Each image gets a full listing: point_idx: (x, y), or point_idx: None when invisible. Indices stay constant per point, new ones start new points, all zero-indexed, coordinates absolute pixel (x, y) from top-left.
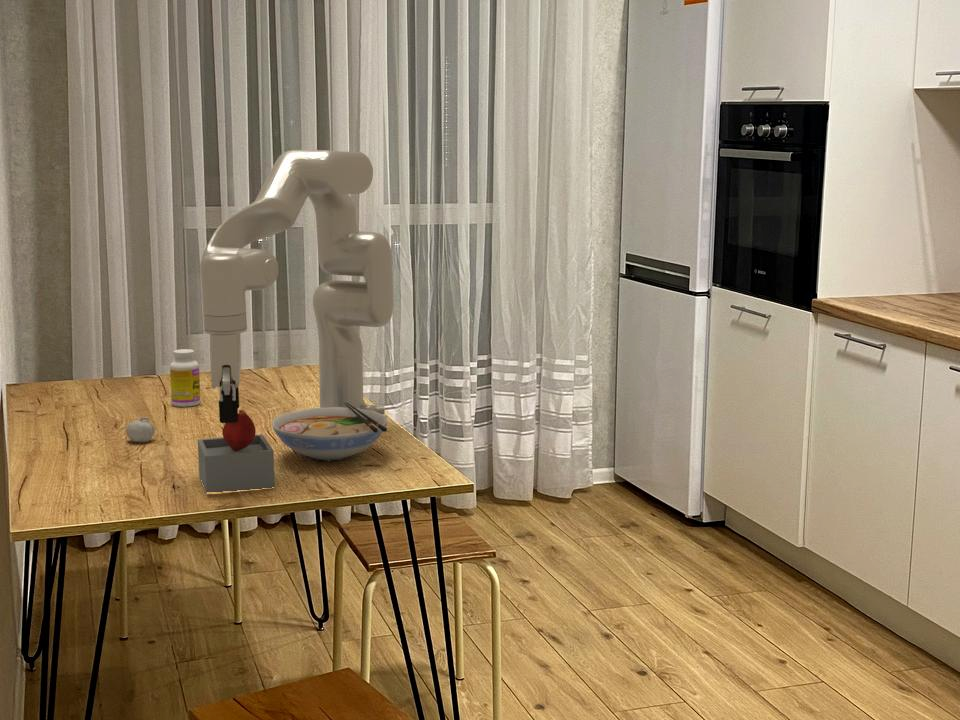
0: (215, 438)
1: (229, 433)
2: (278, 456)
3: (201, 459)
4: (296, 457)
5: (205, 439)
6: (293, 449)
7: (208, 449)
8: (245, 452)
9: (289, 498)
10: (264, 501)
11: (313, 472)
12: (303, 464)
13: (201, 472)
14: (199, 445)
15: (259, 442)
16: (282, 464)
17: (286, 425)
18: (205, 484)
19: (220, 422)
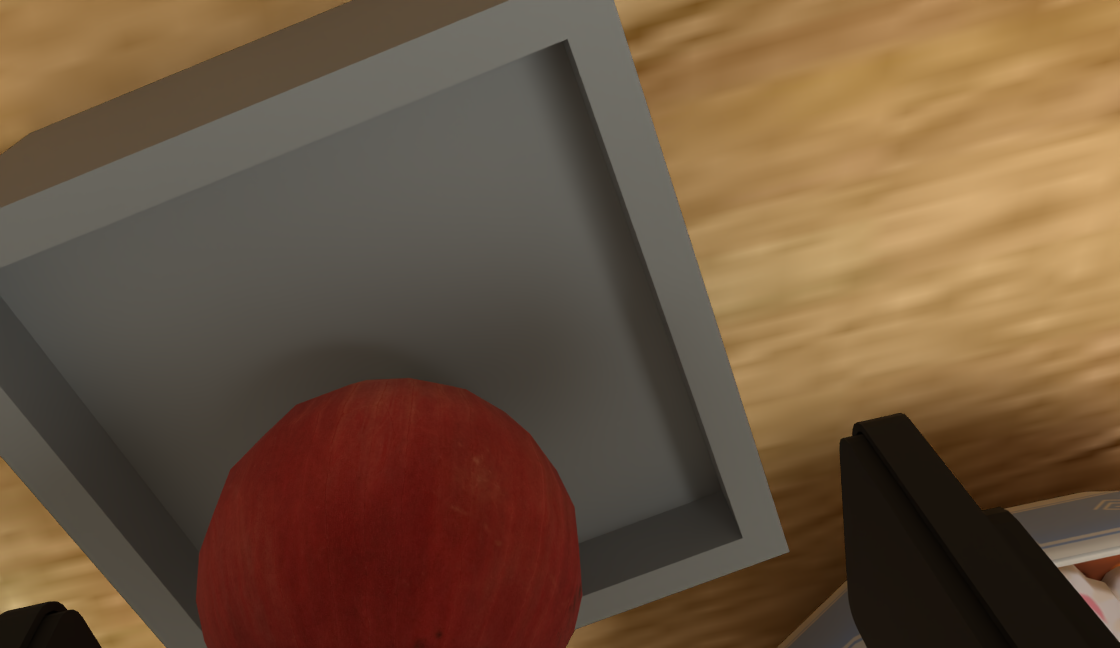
0: (651, 172)
1: (209, 538)
2: (1020, 381)
3: (266, 73)
4: (973, 484)
5: (602, 66)
6: (843, 583)
7: (501, 100)
8: (130, 586)
9: (124, 633)
10: (23, 530)
11: (645, 629)
12: (813, 551)
13: (334, 21)
14: (406, 37)
15: (723, 496)
16: (828, 445)
17: (1116, 606)
18: (48, 136)
19: (10, 612)
